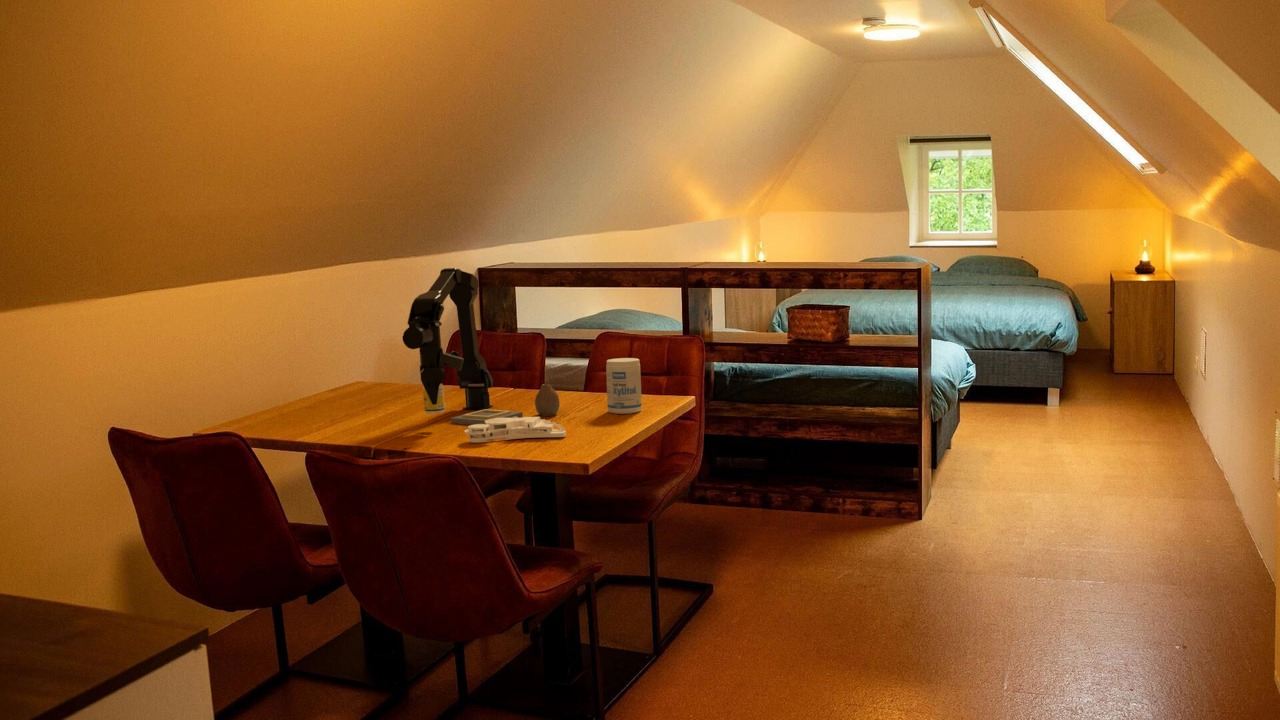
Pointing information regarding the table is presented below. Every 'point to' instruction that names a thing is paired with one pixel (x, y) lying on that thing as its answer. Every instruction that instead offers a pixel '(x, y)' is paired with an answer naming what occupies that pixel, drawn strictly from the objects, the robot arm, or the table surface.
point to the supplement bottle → (437, 407)
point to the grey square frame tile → (484, 416)
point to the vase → (547, 401)
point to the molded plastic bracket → (513, 429)
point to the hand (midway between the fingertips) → (434, 402)
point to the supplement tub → (623, 385)
